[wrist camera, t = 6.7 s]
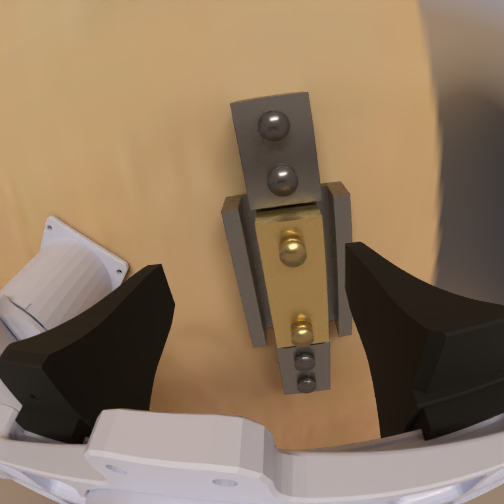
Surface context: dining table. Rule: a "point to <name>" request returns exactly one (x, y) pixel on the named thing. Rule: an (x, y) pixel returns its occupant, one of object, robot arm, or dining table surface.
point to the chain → (278, 194)
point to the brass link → (294, 272)
